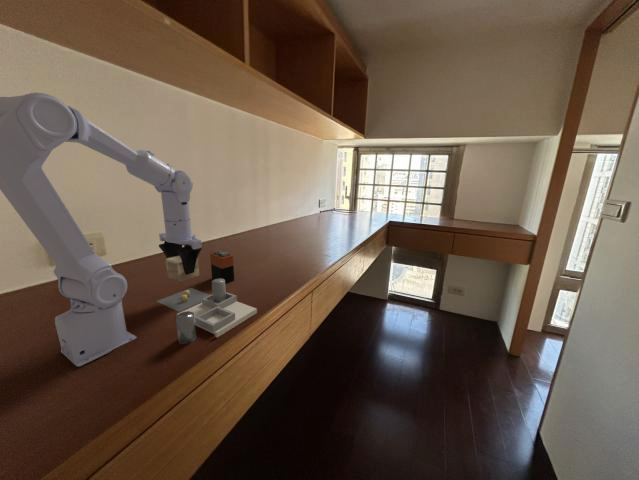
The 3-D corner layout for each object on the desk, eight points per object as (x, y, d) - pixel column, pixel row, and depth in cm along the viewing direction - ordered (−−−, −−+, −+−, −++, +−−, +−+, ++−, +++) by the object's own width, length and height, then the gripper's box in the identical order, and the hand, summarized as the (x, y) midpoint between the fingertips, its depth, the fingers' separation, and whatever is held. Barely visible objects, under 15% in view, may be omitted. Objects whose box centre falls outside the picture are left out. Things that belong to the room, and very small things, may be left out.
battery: (222, 286, 79) (220, 255, 76) (211, 280, 83) (209, 250, 81) (235, 282, 82) (233, 252, 80) (223, 276, 86) (221, 248, 84)
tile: (179, 314, 62) (178, 306, 62) (156, 303, 67) (155, 296, 67) (213, 298, 71) (213, 291, 70) (191, 289, 76) (190, 283, 75)
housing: (180, 281, 64) (178, 262, 63) (167, 277, 66) (165, 258, 65) (199, 275, 68) (198, 257, 67) (186, 271, 71) (185, 254, 70)
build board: (216, 338, 54) (214, 307, 52) (176, 318, 60) (173, 290, 59) (257, 312, 64) (256, 286, 62) (219, 298, 71) (218, 274, 69)
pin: (185, 348, 50) (182, 321, 49) (175, 343, 52) (172, 316, 50) (199, 340, 53) (197, 314, 52) (190, 335, 54) (187, 309, 53)
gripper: (210, 220, 64) (214, 271, 67) (175, 215, 71) (180, 261, 74) (183, 224, 58) (189, 280, 61) (148, 218, 65) (155, 268, 68)
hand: (182, 270), depth 67 cm, fingers closed on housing, 5 cm apart
